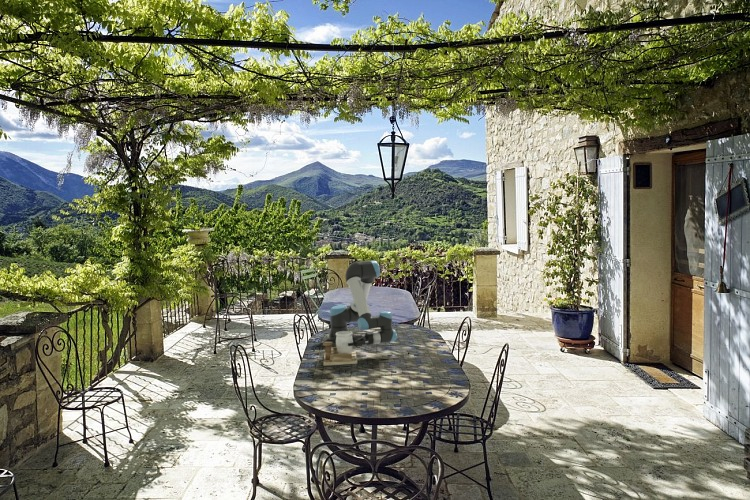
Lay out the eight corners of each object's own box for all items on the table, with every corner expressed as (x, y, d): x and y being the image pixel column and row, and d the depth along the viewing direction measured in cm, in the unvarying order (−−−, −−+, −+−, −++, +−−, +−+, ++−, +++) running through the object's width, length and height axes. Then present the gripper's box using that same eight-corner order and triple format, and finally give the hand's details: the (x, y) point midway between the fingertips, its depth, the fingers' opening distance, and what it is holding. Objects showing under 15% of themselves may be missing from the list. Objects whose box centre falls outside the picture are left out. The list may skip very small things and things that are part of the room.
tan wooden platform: (324, 355, 335) (323, 336, 334) (355, 353, 336) (355, 334, 335) (323, 365, 313) (322, 345, 312) (357, 363, 314) (356, 343, 313)
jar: (351, 359, 319) (349, 334, 318) (334, 358, 322) (333, 334, 320) (355, 354, 330) (354, 330, 328) (339, 354, 332) (338, 330, 331)
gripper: (379, 348, 319) (345, 353, 313) (366, 339, 343) (334, 343, 336) (378, 336, 319) (344, 341, 312) (365, 328, 342) (334, 331, 335)
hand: (339, 342), depth 324 cm, fingers open, 13 cm apart
